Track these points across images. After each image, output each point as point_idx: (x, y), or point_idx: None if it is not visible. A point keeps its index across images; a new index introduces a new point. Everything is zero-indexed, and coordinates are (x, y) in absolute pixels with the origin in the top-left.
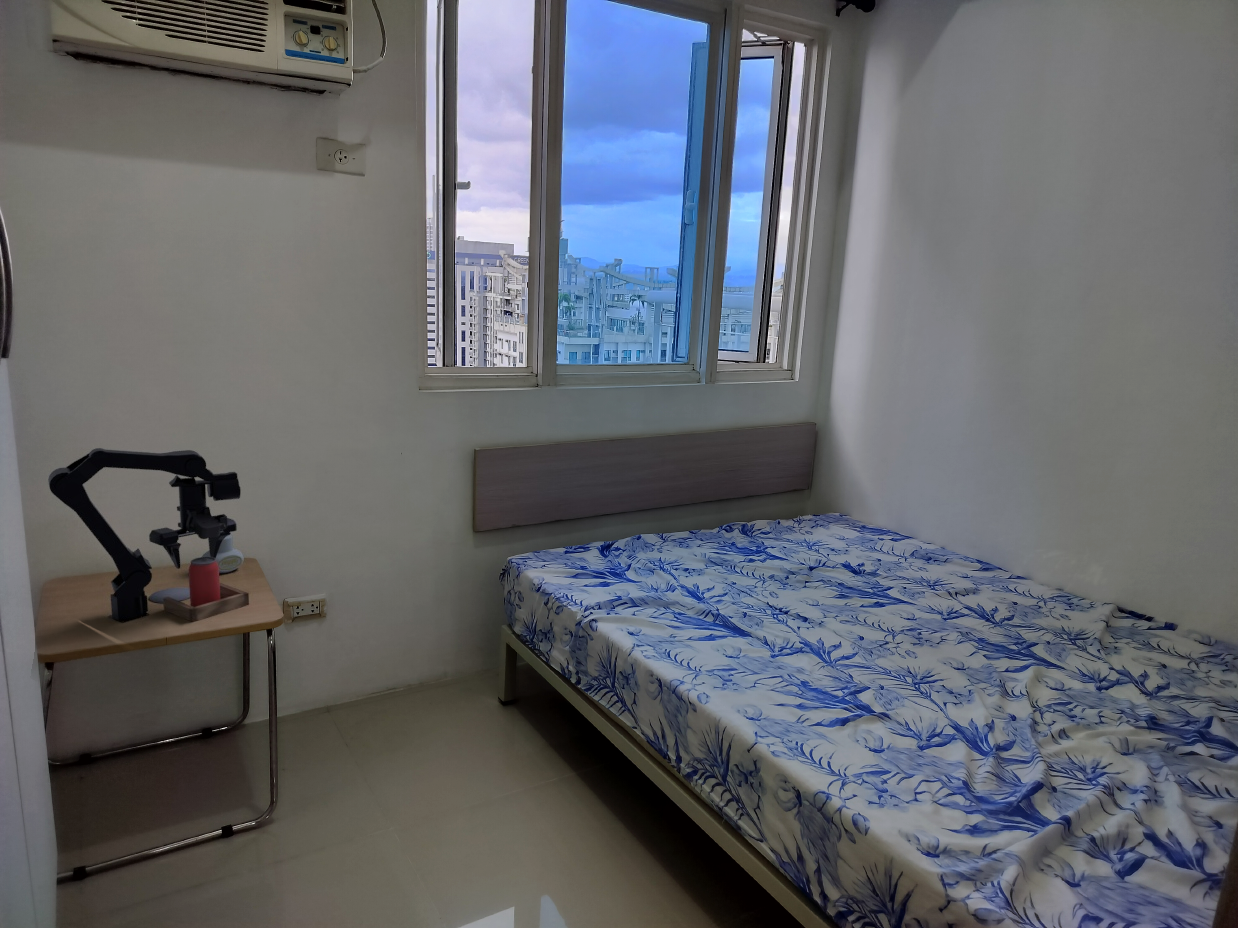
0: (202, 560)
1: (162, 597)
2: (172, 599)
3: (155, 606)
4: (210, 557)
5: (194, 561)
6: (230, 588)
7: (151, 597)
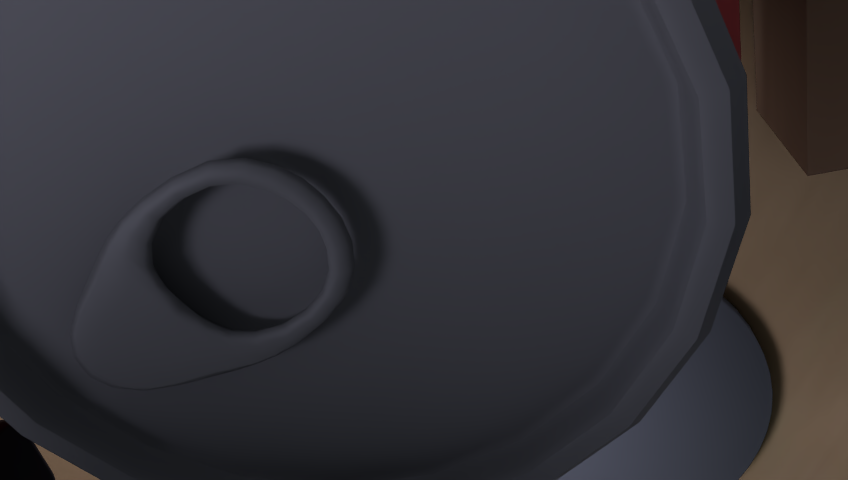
0: (288, 330)
1: (675, 396)
2: (830, 34)
3: (822, 244)
4: (10, 393)
5: (532, 369)
6: None
7: (747, 443)
